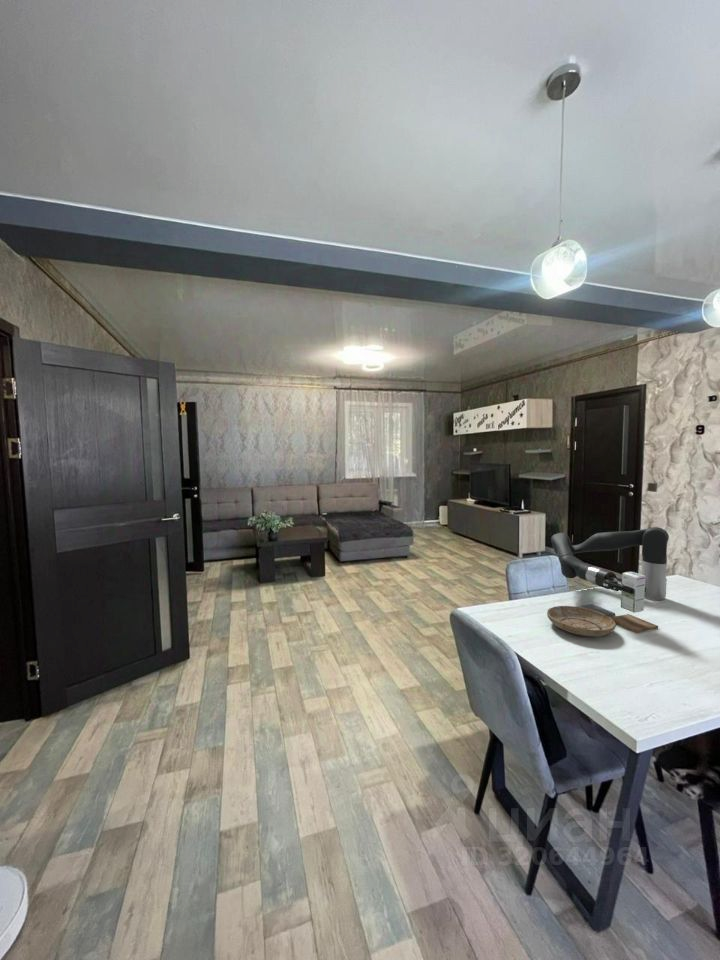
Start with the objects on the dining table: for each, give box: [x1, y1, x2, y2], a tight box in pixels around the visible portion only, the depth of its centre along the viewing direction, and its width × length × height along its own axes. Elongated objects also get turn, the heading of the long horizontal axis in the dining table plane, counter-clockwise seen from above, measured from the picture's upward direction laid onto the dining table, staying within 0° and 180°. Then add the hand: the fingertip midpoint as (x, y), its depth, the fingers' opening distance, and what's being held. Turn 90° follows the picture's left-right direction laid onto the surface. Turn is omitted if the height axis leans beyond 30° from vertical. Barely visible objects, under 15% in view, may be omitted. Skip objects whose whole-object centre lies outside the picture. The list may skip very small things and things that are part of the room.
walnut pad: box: [609, 613, 659, 634], centre depth 157 cm, size 12×12×1 cm
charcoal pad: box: [575, 603, 616, 617], centre depth 168 cm, size 11×11×1 cm
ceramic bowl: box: [546, 605, 617, 637], centre depth 153 cm, size 23×24×5 cm
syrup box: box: [620, 571, 645, 614], centre depth 156 cm, size 6×6×14 cm
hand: (639, 590), depth 153 cm, fingers closed on syrup box, 6 cm apart
